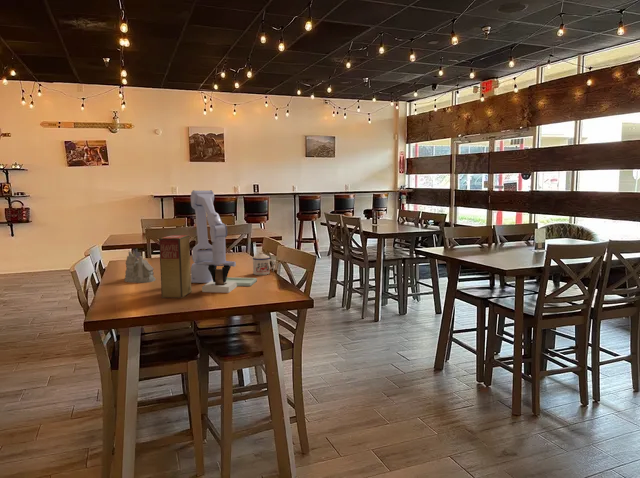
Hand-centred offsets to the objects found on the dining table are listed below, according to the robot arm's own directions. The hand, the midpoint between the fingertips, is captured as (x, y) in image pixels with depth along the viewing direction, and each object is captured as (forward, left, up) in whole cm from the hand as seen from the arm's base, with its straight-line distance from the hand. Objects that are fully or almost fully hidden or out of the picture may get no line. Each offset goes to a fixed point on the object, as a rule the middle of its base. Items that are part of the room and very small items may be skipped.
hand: (219, 281), depth 211 cm
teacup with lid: (+11, +40, -4) cm, 42 cm away
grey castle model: (-45, +17, -4) cm, 49 cm away
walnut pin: (0, 0, -3) cm, 3 cm away
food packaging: (-15, -12, -4) cm, 20 cm away
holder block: (0, 0, -3) cm, 3 cm away
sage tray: (+4, +14, -3) cm, 15 cm away
